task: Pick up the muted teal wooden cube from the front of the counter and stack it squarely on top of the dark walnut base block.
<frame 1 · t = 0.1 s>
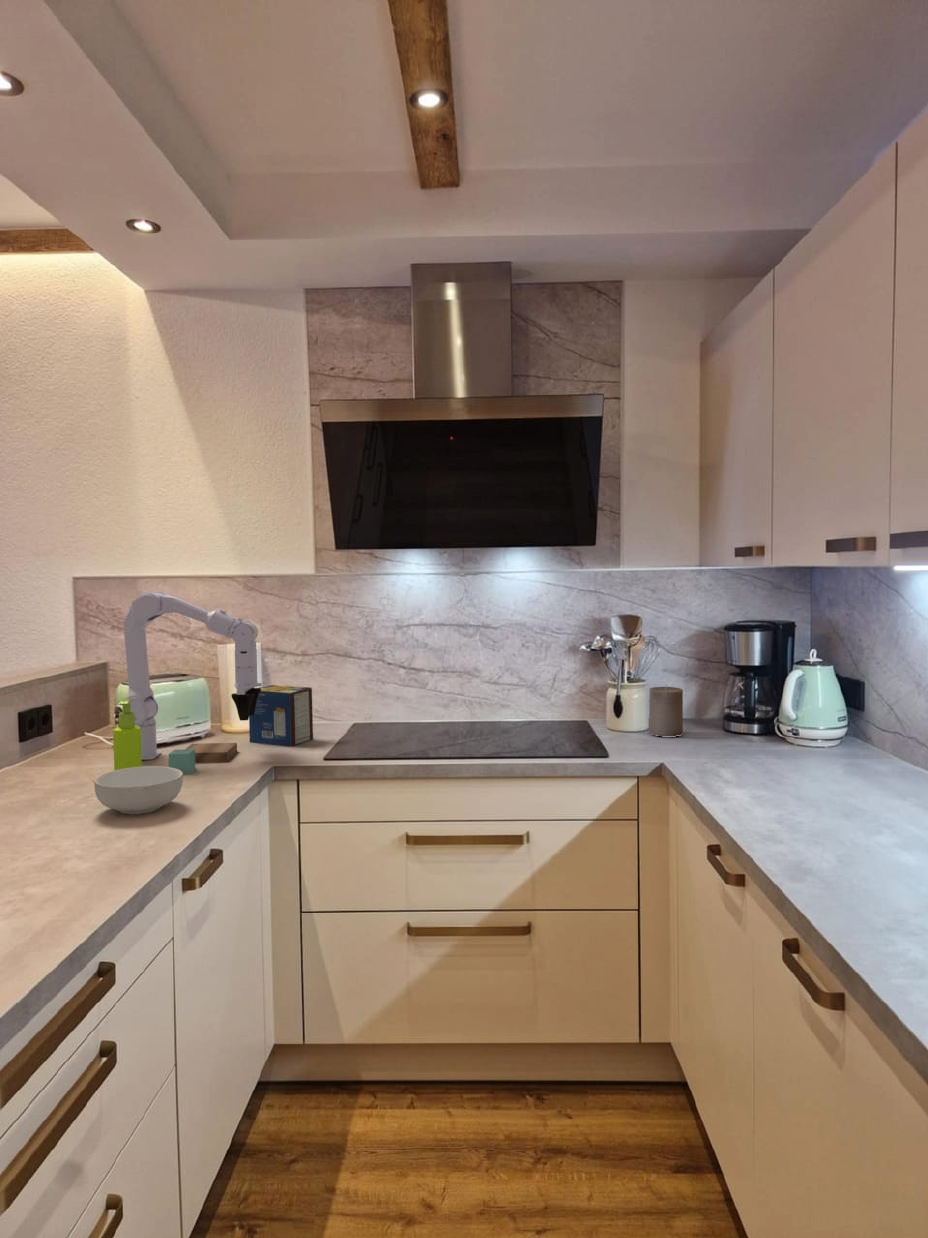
hand: (247, 717, 215), 10 cm above the countertop, fingers open, 7 cm apart
teal cube: (182, 771, 198), on the countertop
cereal bowl: (140, 810, 166), on the countertop
protein box: (281, 742, 233), on the countertop
pillar candle: (665, 735, 238), on the countertop
walnut base: (209, 759, 213), on the countertop
soap dispenser: (128, 785, 185), on the countertop
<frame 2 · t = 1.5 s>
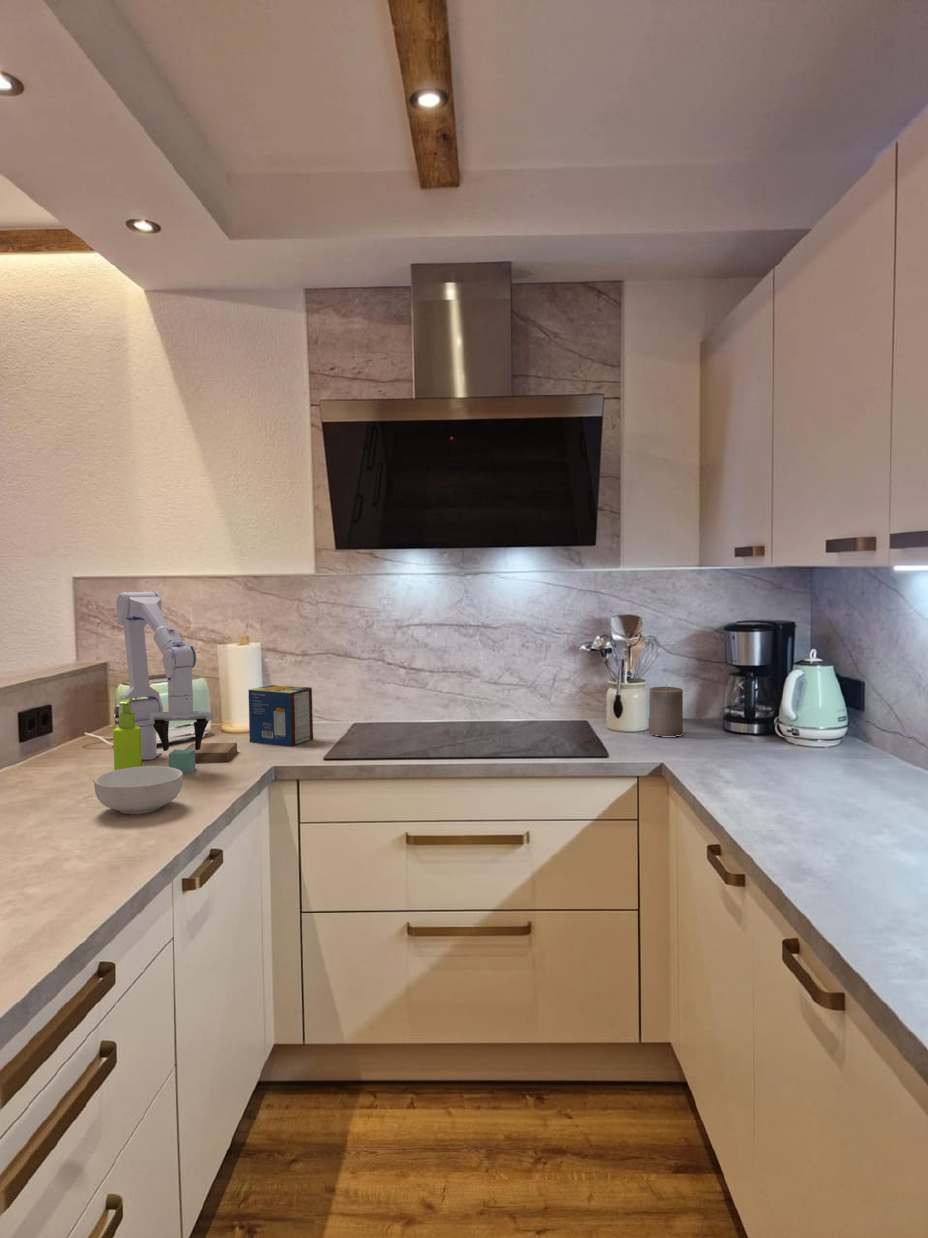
hand: (182, 749, 198), 5 cm above the countertop, fingers open, 7 cm apart
nothing on the countertop moved.
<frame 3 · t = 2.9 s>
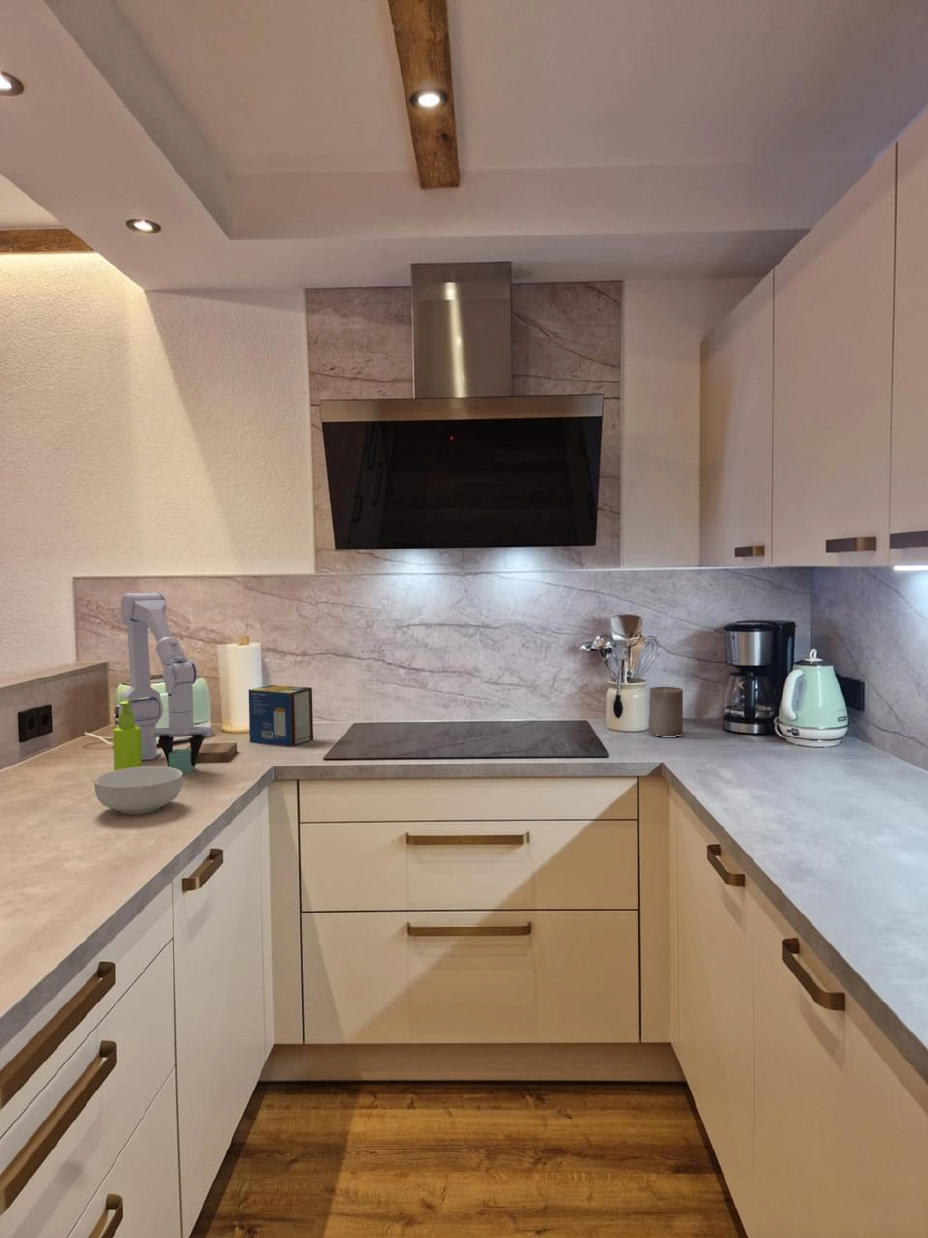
hand: (182, 765, 198), 1 cm above the countertop, fingers closed on teal cube, 5 cm apart
teal cube: (182, 771, 198), on the countertop, touching gripper
everything else where it was.
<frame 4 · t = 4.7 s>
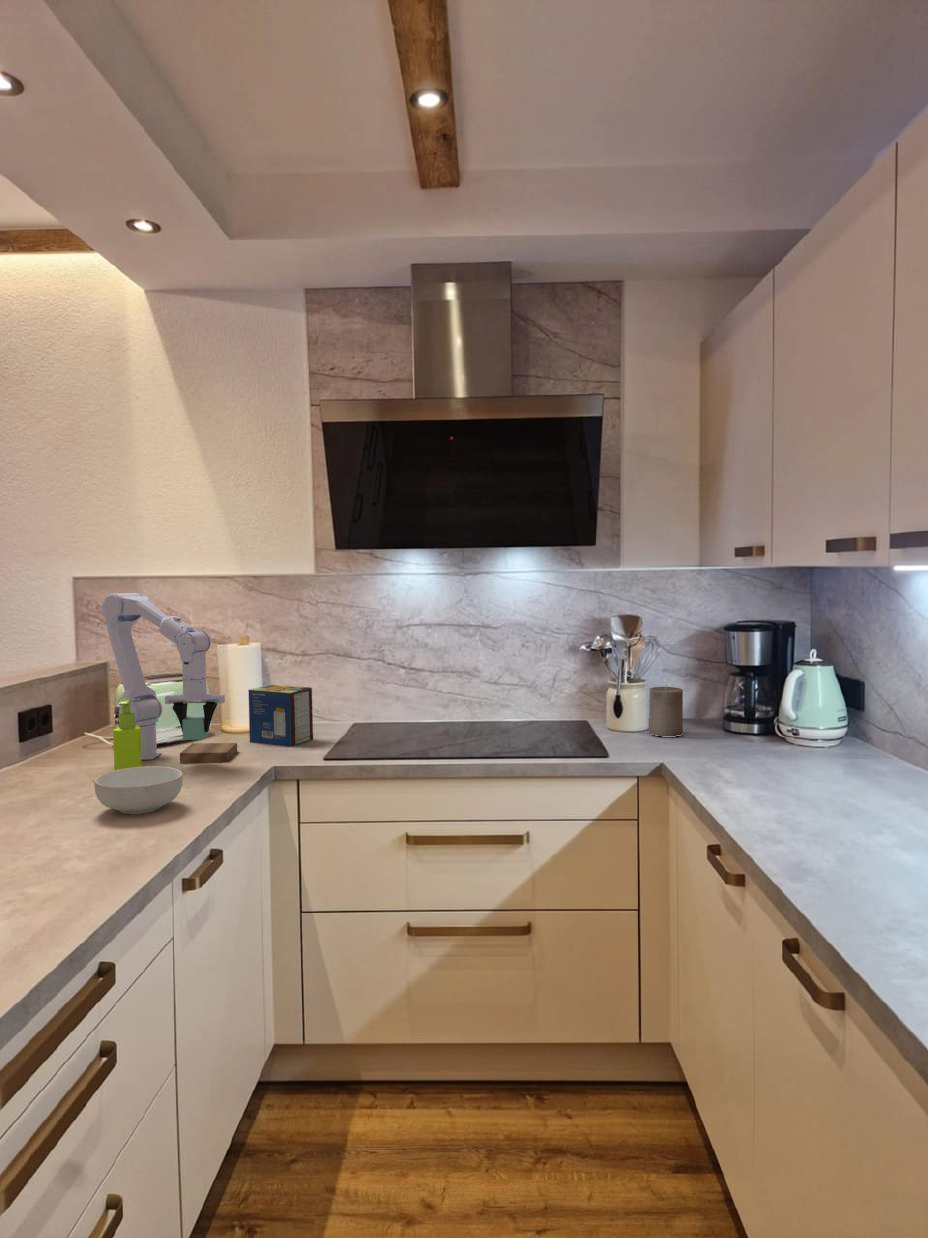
hand: (195, 731, 205), 8 cm above the countertop, fingers closed on teal cube, 5 cm apart
teal cube: (195, 737, 205), point 7 cm above the countertop, touching gripper
everything else where it was.
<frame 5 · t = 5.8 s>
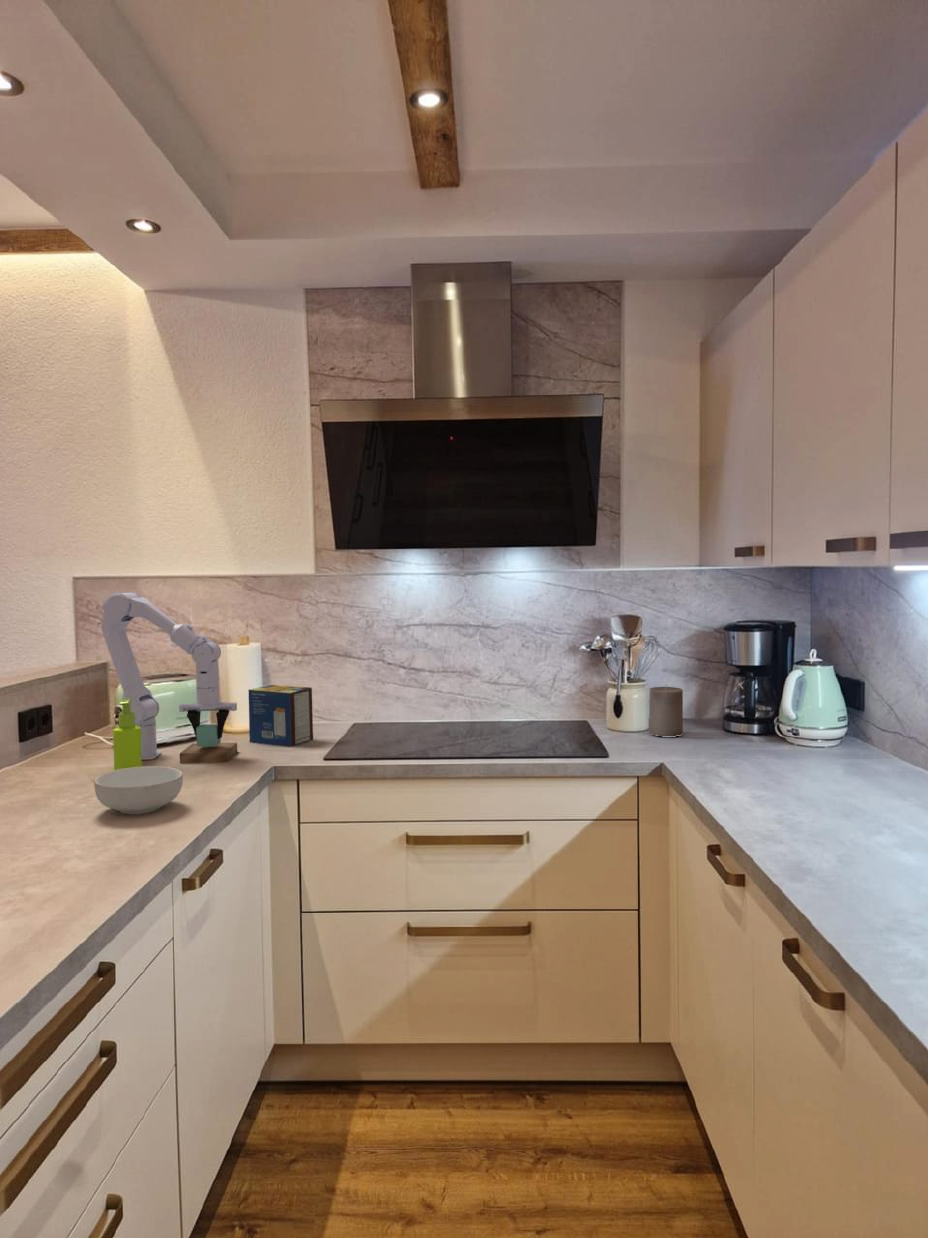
hand: (209, 738, 213), 5 cm above the countertop, fingers closed on teal cube, 5 cm apart
teal cube: (208, 744, 212), point 4 cm above the countertop, touching gripper
everything else where it was.
when the fingers open (5 cm above the countertop, at t = 6.7 s): teal cube stays where it is, point 2 cm above the countertop.
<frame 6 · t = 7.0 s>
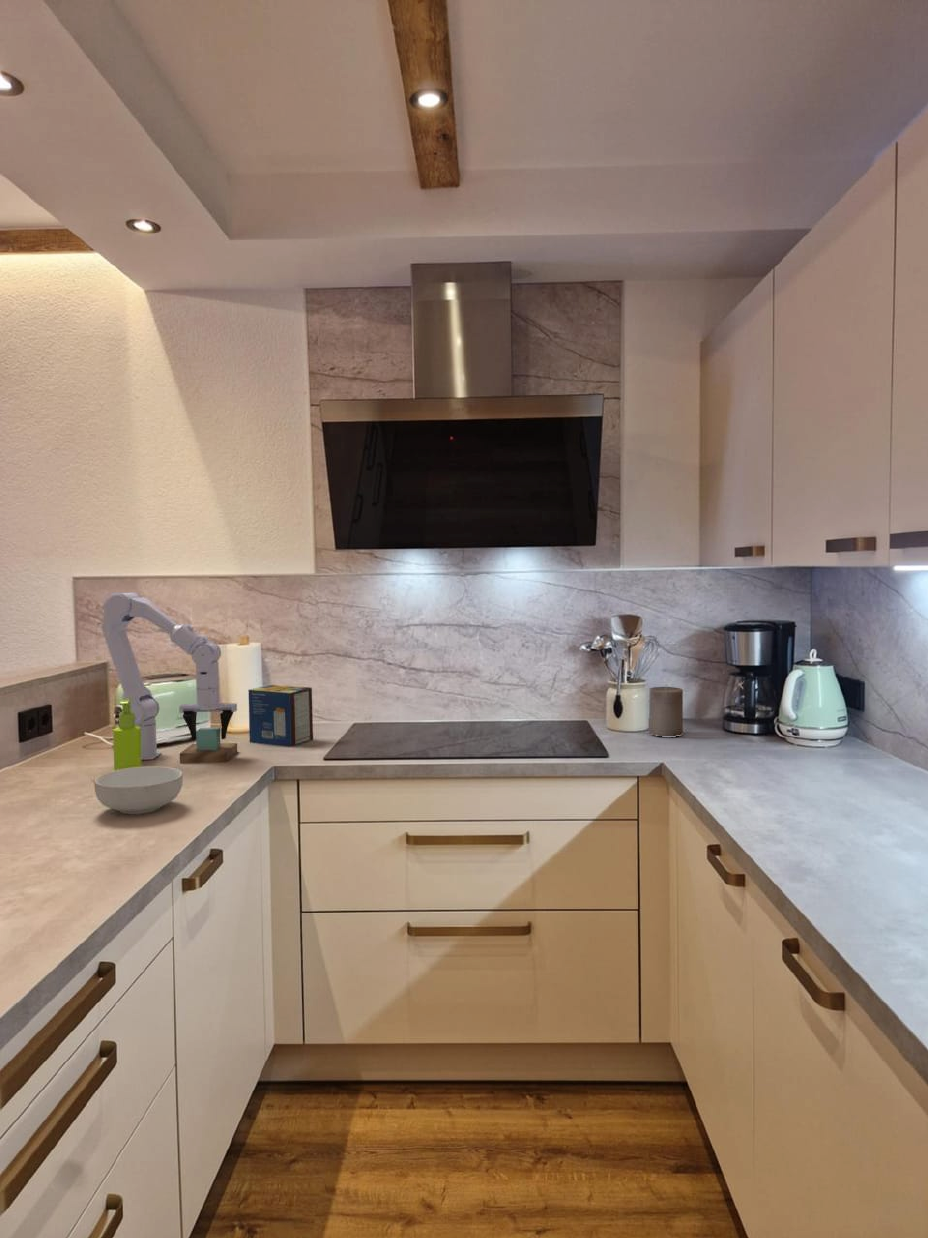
hand: (209, 738, 213), 5 cm above the countertop, fingers open, 7 cm apart
teal cube: (208, 748, 213), point 2 cm above the countertop
everything else where it was.
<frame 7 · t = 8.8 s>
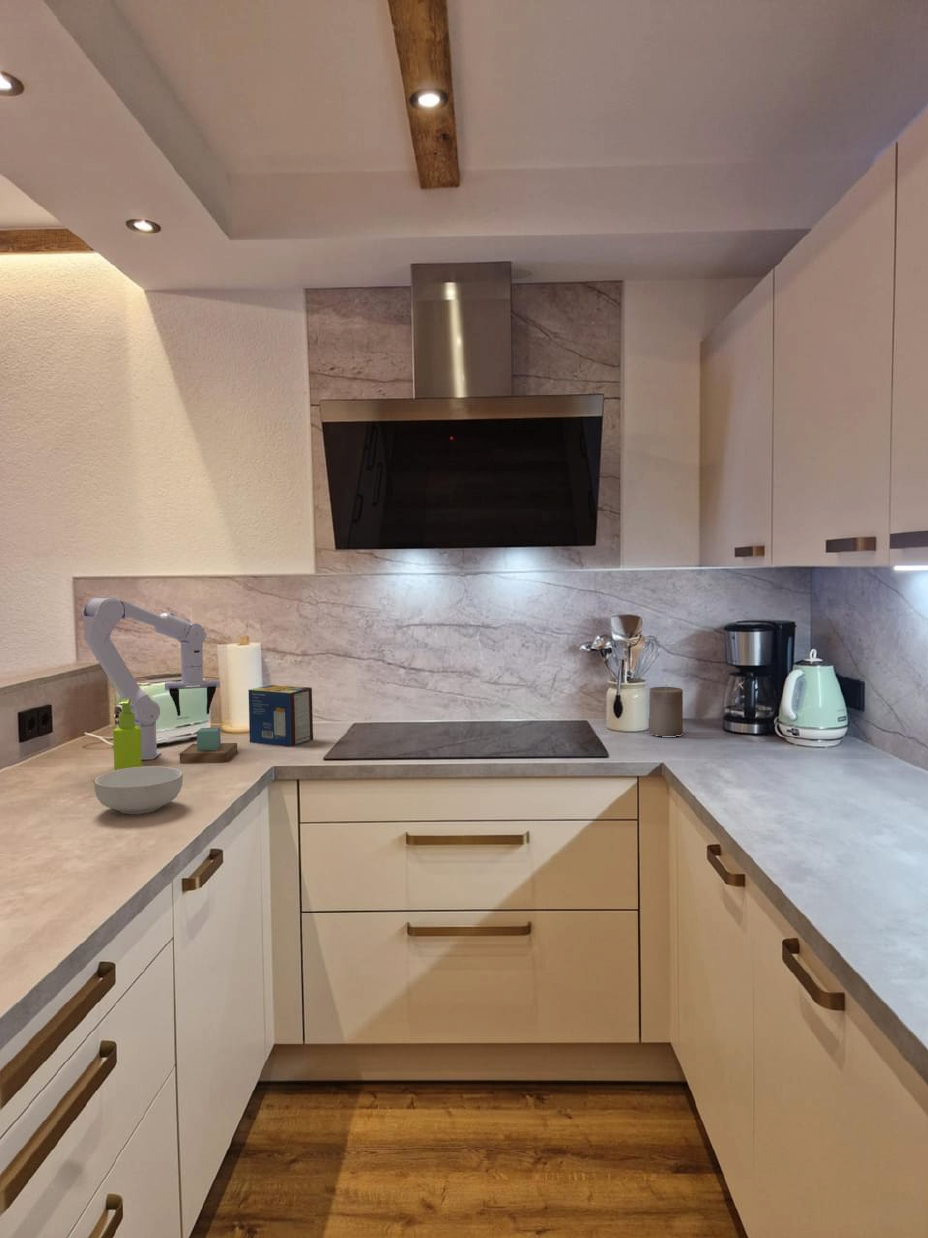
hand: (193, 714, 224), 9 cm above the countertop, fingers open, 7 cm apart
teal cube: (209, 748, 213), point 2 cm above the countertop, touching walnut base
walnut base: (209, 759, 213), on the countertop, touching teal cube
everything else where it was.
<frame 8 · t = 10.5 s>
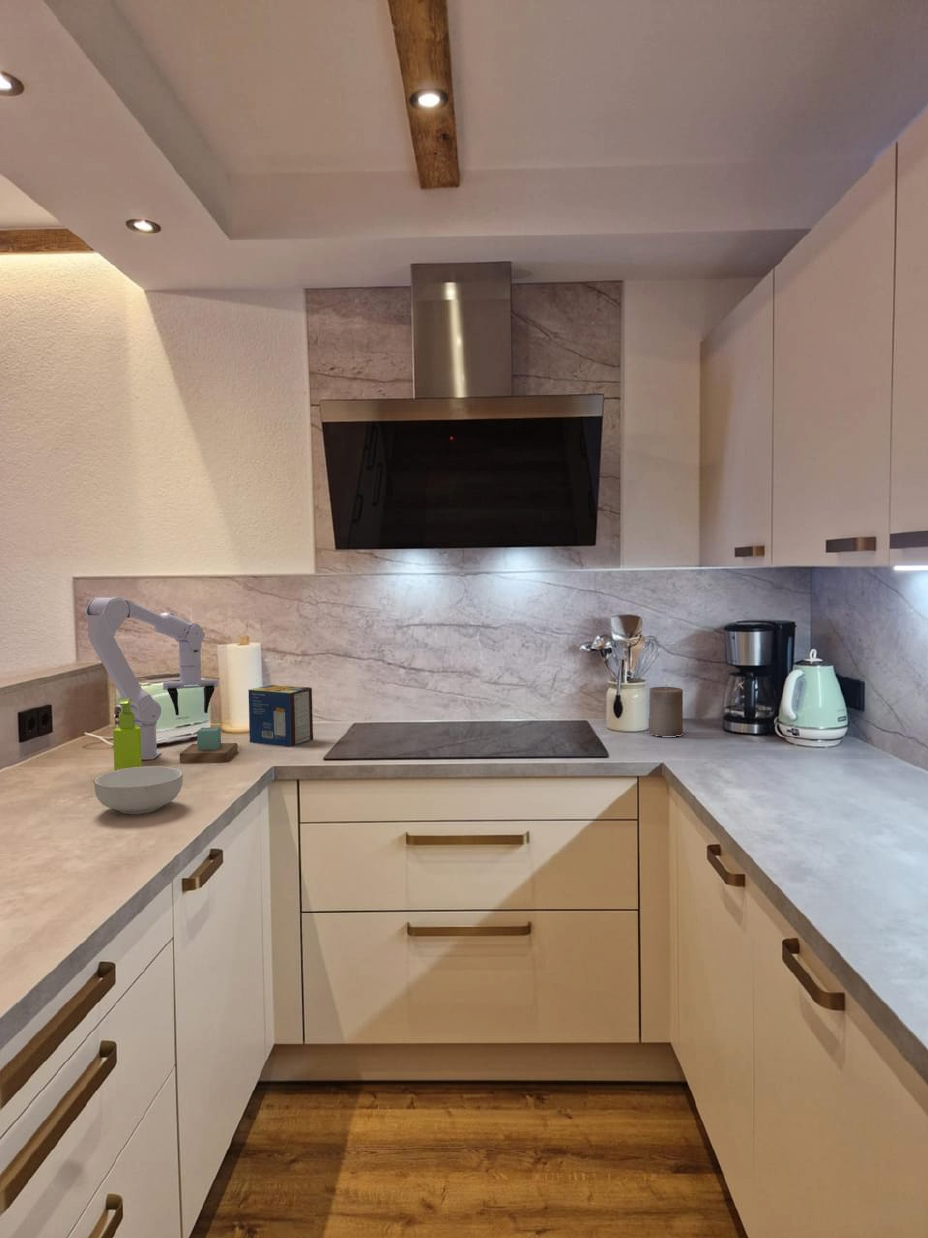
hand: (191, 713, 226), 9 cm above the countertop, fingers open, 7 cm apart
nothing on the countertop moved.
at the end: teal cube 0.3 cm off-centre on the walnut base, point 3.0 cm above the walnut base's base; teal cube tilted 0°; the gripper is holding nothing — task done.
